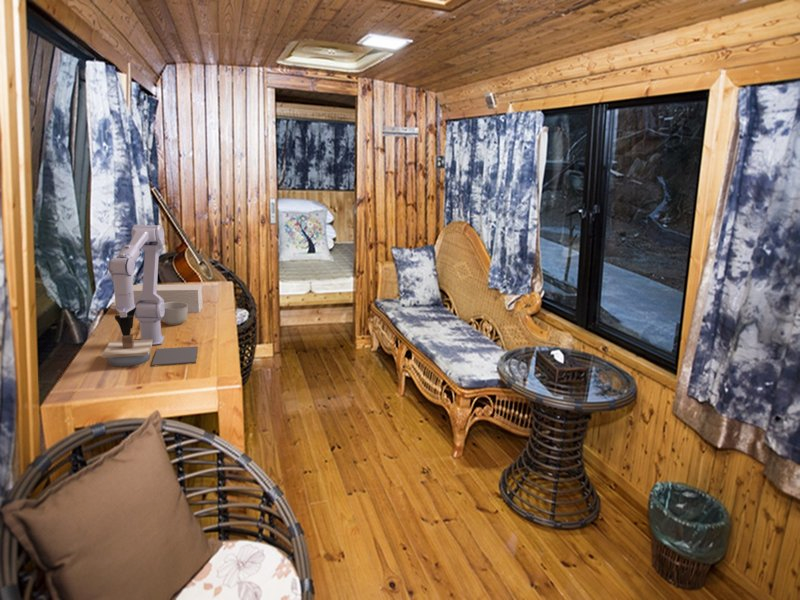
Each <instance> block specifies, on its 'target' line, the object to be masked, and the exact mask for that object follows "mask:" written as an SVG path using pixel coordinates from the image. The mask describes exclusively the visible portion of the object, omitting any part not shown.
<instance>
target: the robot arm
mask: <svg viewBox="0 0 800 600" xmlns="http://www.w3.org/2000/svg"><path fill="white" fill-rule="evenodd" d="M164 242H165V231H164V228H163V226H162V225H159V224H157V225H155V224H138V223H137V224H134V225H133V226H132V227H131V239H130V242H129V243H128V244H125V245H123V246H122V249H121V250H120V251H119V253H118V254H117V256H116V257H113V258H112V259H110V260H109V262H108V267H107V270H108V273H109V275H110V280H111V281H112V282H113V292H114V301H115V303H114V304H115V305H112V307H111V309H112V310H116V311H117V312H118V315H117V314H116V315H114V320H115V321H116V322H117V323H118V326H119V328H120V331H121V334H122V336H128V335H130V334H131V331H132V329H133V327H134V326H133V325H134V318H135V319H137V321H138V322H139V332H140V333H139V334H140V340H148V339H153V343H152V346H154V345H155V346H156V345H163V342H164V339H165V335H162V326H161V322H162V321H161V320H160V319H162V317H163V316H164V313H165V307H164V300H163V298H161V297H160V296H159V295H158V294H157V285H158V275H159V273H158V271H159V258H160V257H159V256H160V250H162V249H163V248H164V244H165V243H164ZM140 250H143V251H144V257H143V258H144V259H143V276H142V285H143V289H142V294H140V295H139V296H138V297H136V298H135V303H134V294H133V285H134V283H133V274H134V273H135V267H136V262H137V261H138V259H139V257H140V255H141V253H140ZM145 301H156V302H145Z"/></svg>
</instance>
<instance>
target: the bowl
mask: <svg viewBox="0 0 800 600" xmlns="http://www.w3.org/2000/svg"><path fill="white" fill-rule="evenodd" d="M150 351H151V350H150ZM150 351H149V354H148V355H144V356H128V357H113V358H107V359H108V364H109V365H111V366H113V367H119V368H121V367H123V368H124V367H133V366H138V365H142V364H145V363H147V362H149V360H150V359H151V353H150ZM146 361H147V362H146Z"/></svg>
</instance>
